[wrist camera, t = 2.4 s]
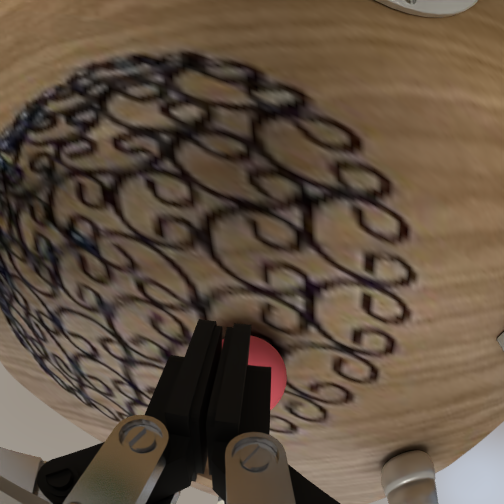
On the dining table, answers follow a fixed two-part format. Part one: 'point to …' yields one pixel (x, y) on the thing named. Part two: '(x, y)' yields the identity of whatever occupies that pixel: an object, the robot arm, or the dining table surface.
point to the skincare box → (501, 340)
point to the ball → (268, 357)
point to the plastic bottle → (410, 479)
